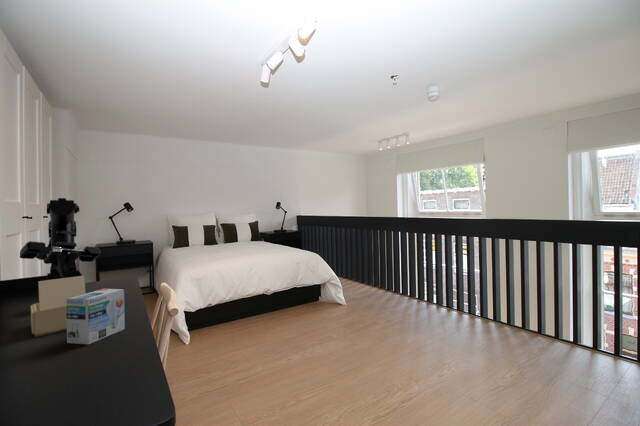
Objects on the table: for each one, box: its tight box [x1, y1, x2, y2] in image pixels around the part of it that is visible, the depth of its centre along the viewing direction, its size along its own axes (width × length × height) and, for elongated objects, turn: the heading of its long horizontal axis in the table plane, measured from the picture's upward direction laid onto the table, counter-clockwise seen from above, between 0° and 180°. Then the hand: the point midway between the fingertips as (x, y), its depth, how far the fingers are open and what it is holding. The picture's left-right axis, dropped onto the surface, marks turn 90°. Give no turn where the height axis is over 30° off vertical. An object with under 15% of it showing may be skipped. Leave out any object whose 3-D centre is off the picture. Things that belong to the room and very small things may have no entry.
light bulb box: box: [66, 288, 126, 345], centre depth 77 cm, size 11×7×11 cm, turn 168°
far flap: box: [37, 275, 87, 311], centre depth 83 cm, size 8×10×1 cm
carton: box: [30, 302, 67, 338], centre depth 86 cm, size 13×12×6 cm
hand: (63, 277), depth 92 cm, fingers closed
